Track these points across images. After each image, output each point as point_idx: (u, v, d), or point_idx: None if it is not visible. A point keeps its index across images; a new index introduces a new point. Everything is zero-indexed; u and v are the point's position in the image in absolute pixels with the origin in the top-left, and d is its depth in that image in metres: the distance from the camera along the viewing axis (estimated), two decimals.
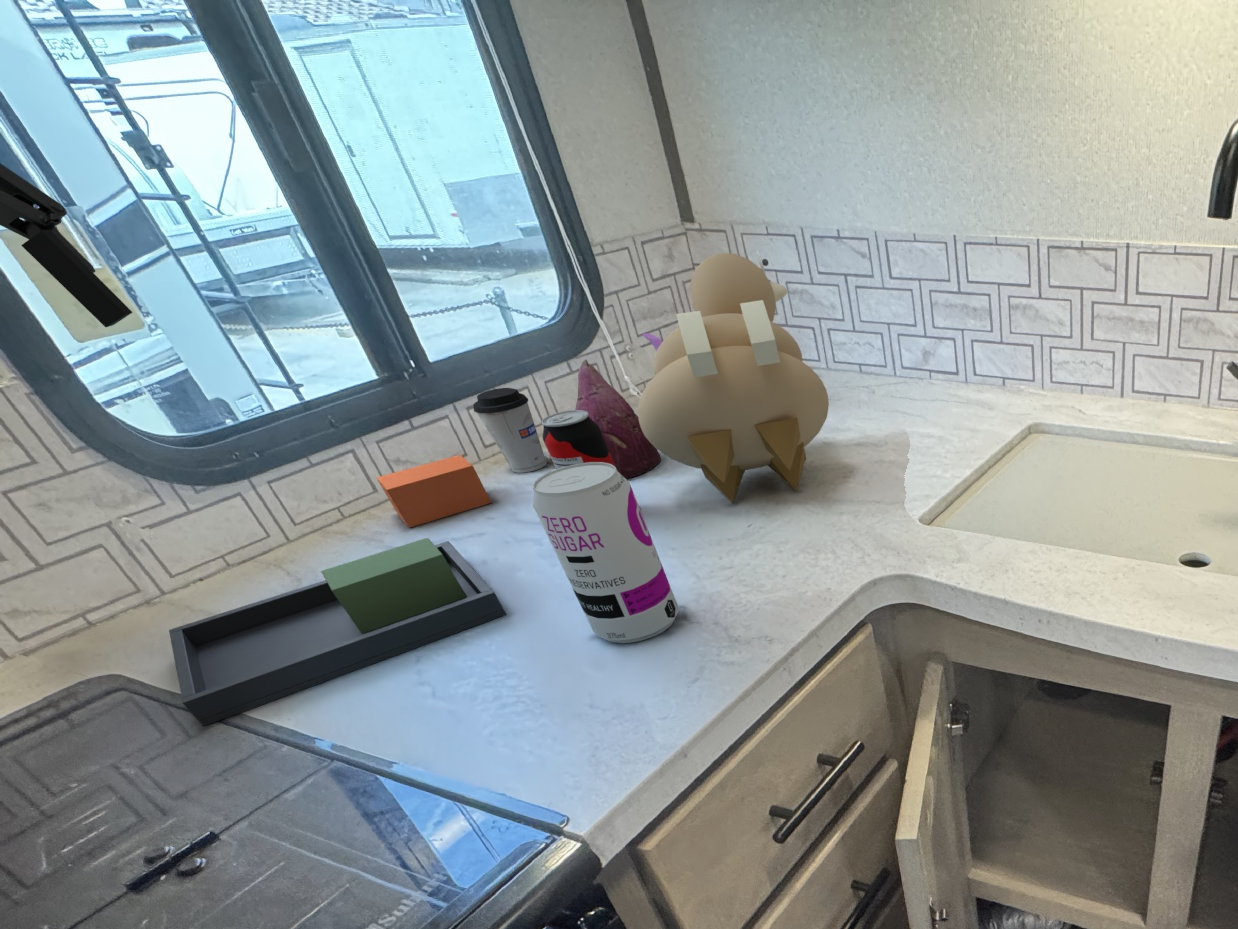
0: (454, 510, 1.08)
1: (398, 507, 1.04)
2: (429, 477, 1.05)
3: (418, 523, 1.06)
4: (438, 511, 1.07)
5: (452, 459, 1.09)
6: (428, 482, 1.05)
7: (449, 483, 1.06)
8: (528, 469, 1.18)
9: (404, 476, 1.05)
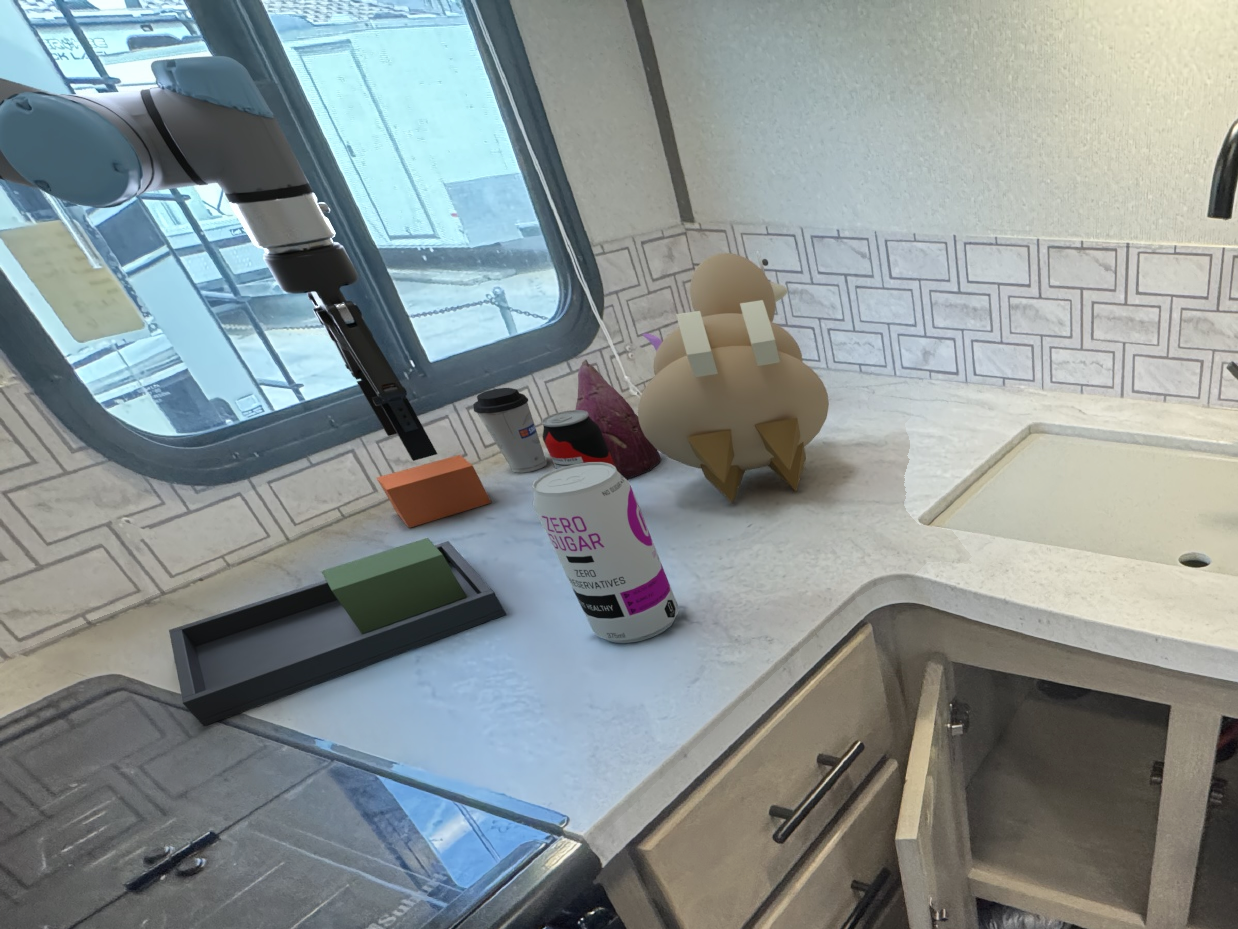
0: (454, 510, 1.08)
1: (398, 507, 1.04)
2: (429, 477, 1.05)
3: (418, 523, 1.06)
4: (438, 511, 1.07)
5: (452, 459, 1.09)
6: (428, 482, 1.05)
7: (449, 483, 1.06)
8: (528, 469, 1.18)
9: (404, 476, 1.05)
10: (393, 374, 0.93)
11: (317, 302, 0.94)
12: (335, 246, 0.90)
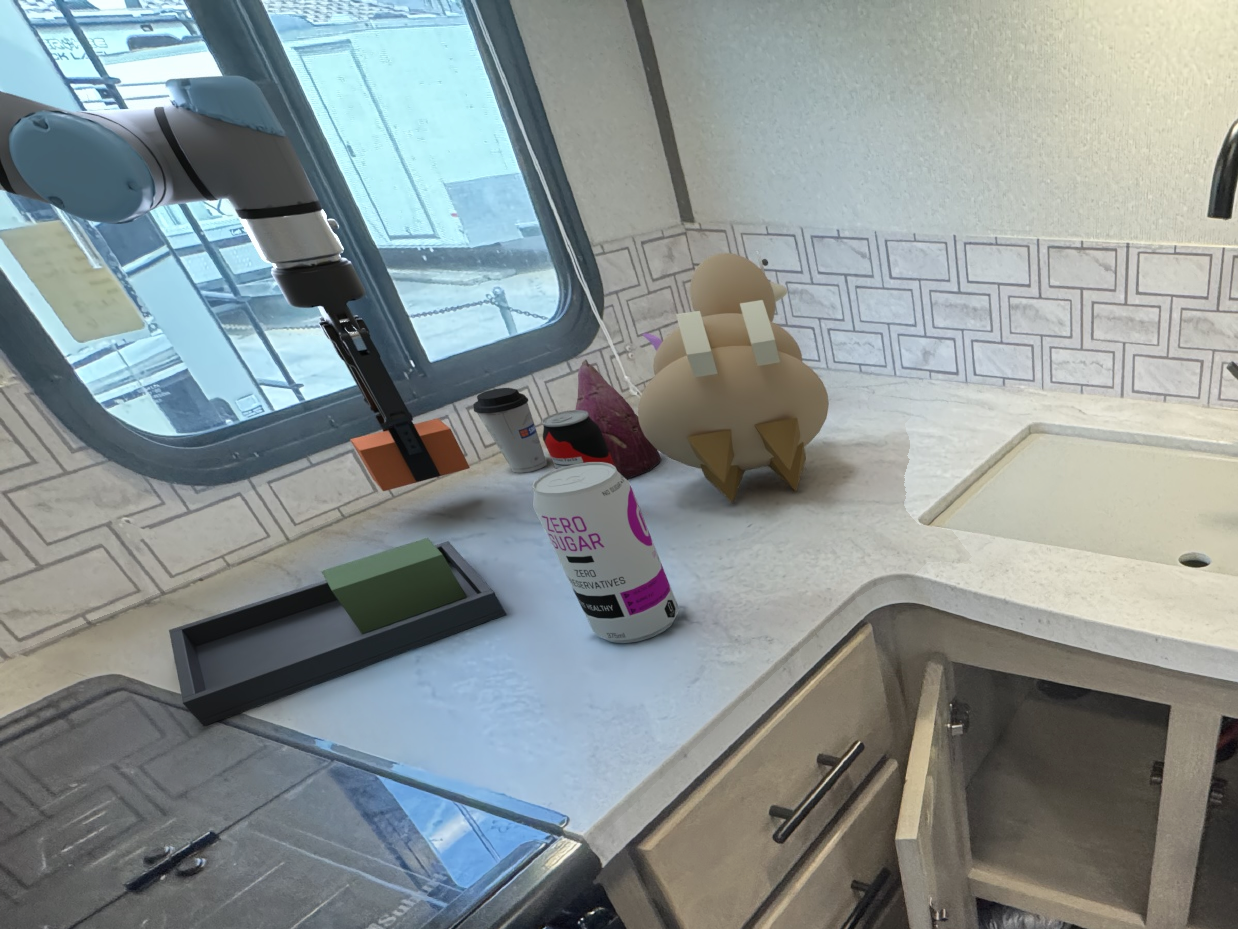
0: None
1: (372, 469, 1.00)
2: None
3: (393, 487, 1.02)
4: None
5: (430, 422, 1.06)
6: None
7: (426, 446, 1.03)
8: (528, 469, 1.18)
9: (379, 438, 1.02)
10: (402, 402, 0.97)
11: (323, 316, 0.95)
12: (343, 262, 0.91)
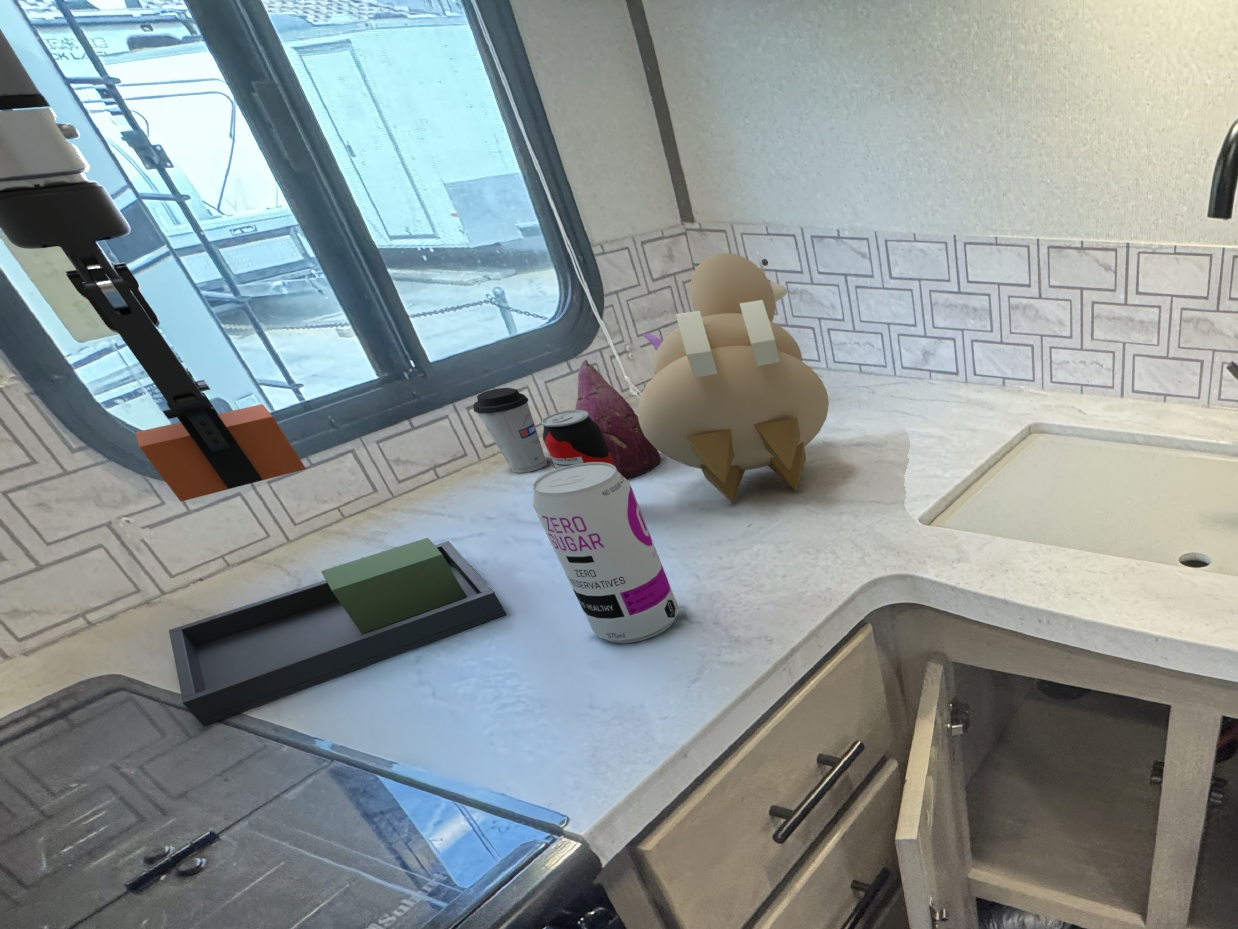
0: None
1: (161, 472, 0.75)
2: None
3: (194, 495, 0.77)
4: None
5: (250, 409, 0.80)
6: None
7: (238, 440, 0.77)
8: (528, 469, 1.18)
9: (174, 430, 0.76)
10: (189, 380, 0.71)
11: None
12: (87, 184, 0.66)
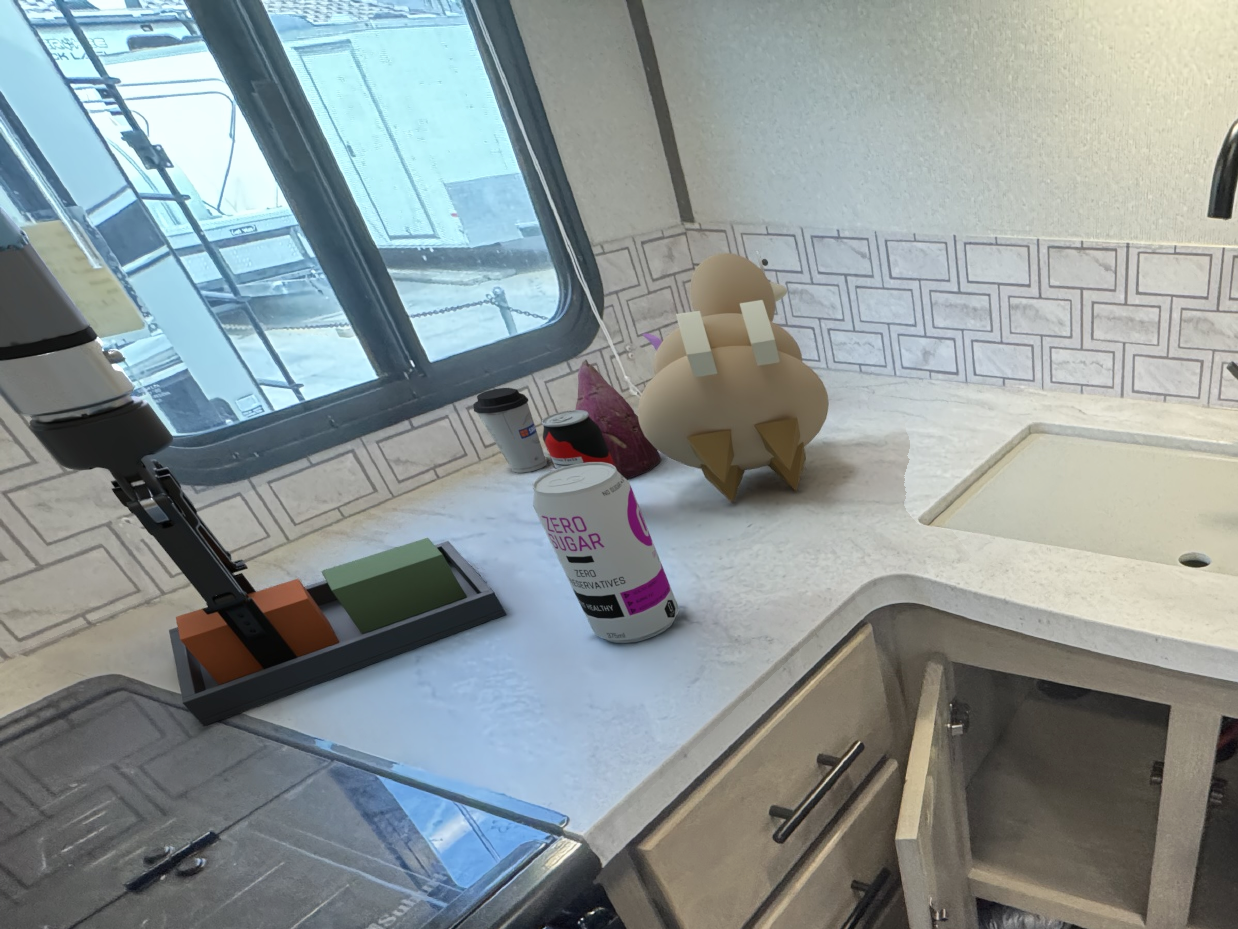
0: None
1: (200, 660, 0.77)
2: None
3: (232, 678, 0.79)
4: None
5: (286, 586, 0.82)
6: None
7: (275, 623, 0.79)
8: (528, 469, 1.18)
9: (213, 615, 0.78)
10: (228, 581, 0.73)
11: None
12: (132, 406, 0.67)
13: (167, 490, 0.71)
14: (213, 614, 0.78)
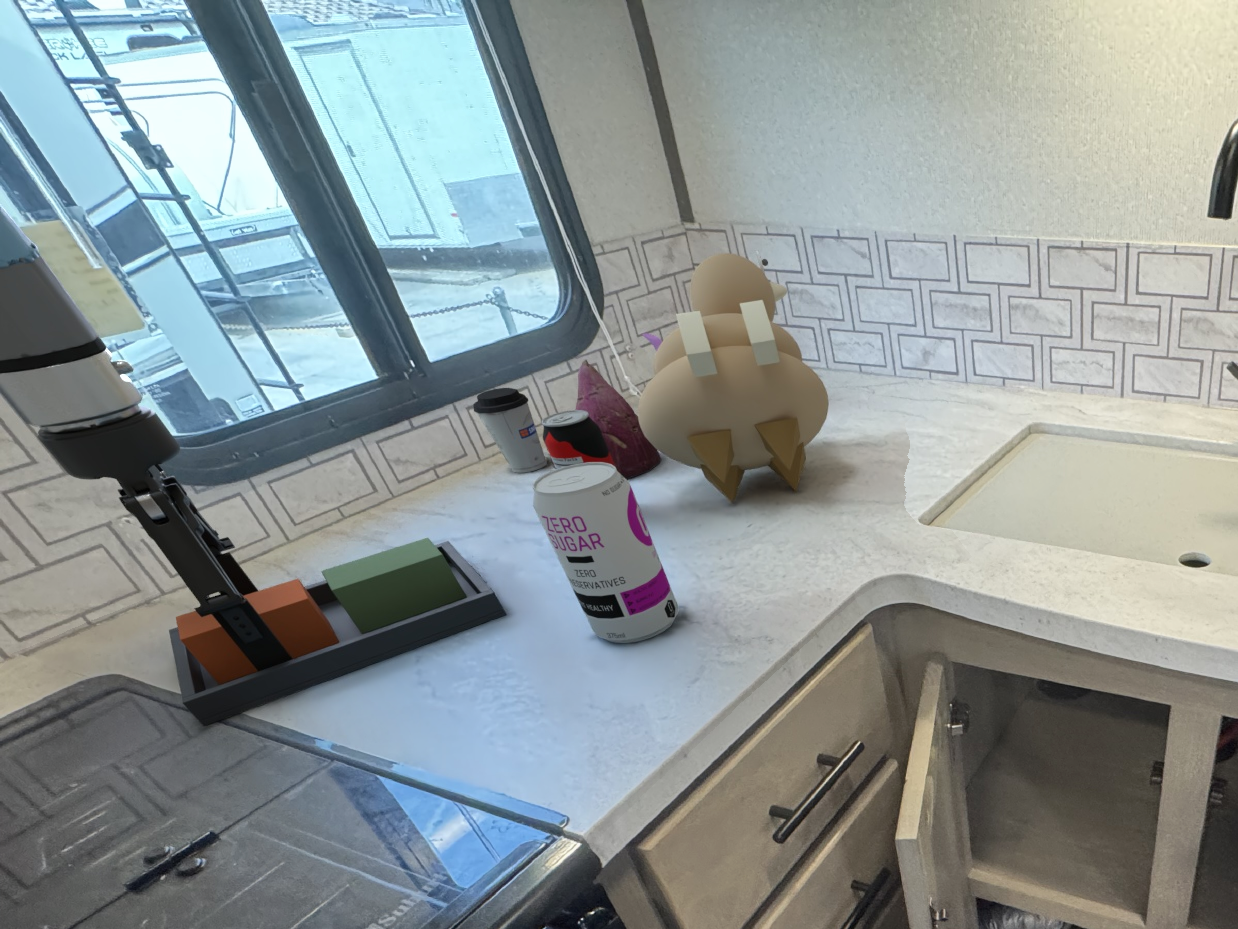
0: None
1: (200, 660, 0.77)
2: None
3: (232, 678, 0.79)
4: None
5: (286, 586, 0.82)
6: None
7: (275, 623, 0.79)
8: (528, 469, 1.18)
9: None
10: (222, 579, 0.70)
11: None
12: (140, 417, 0.68)
13: (174, 499, 0.71)
14: None
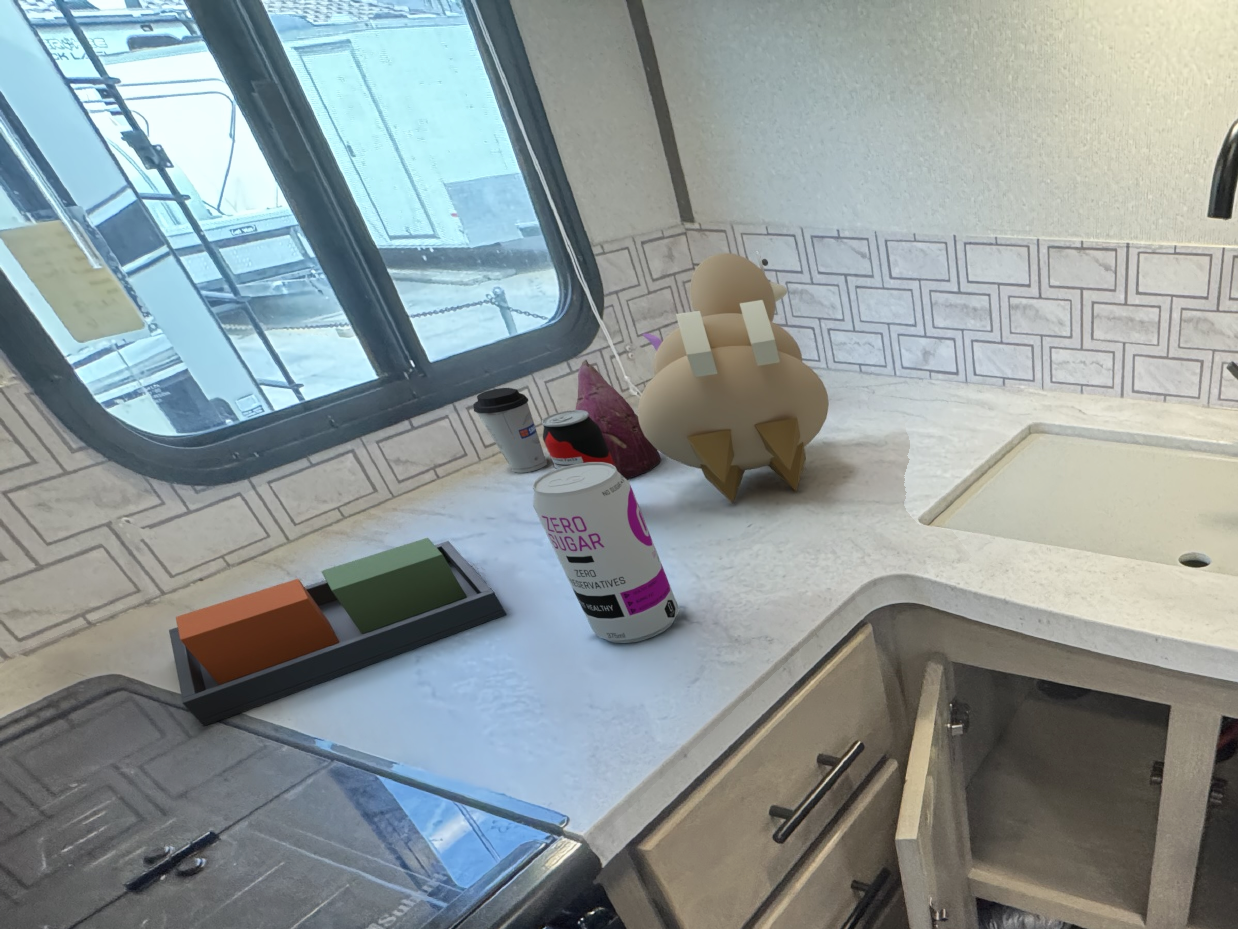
0: (284, 656, 0.81)
1: (200, 660, 0.77)
2: (244, 618, 0.77)
3: (232, 678, 0.79)
4: (262, 660, 0.80)
5: (286, 586, 0.82)
6: (242, 625, 0.77)
7: (275, 623, 0.79)
8: (528, 469, 1.18)
9: (213, 615, 0.78)
10: None
11: None
12: None
13: None
14: (213, 614, 0.78)
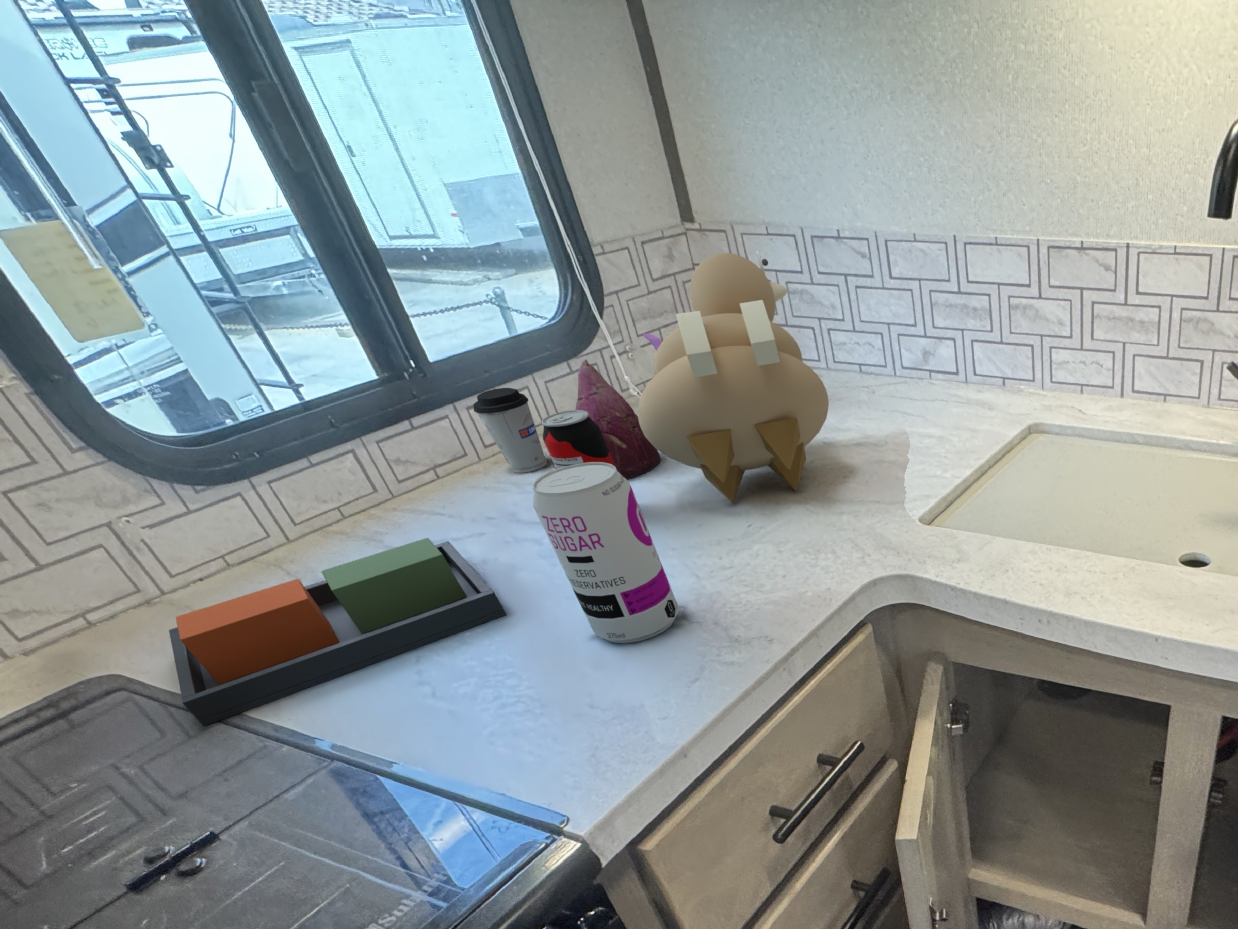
0: (284, 656, 0.81)
1: (200, 660, 0.77)
2: (244, 618, 0.77)
3: (232, 678, 0.79)
4: (262, 660, 0.80)
5: (286, 586, 0.82)
6: (242, 625, 0.77)
7: (275, 623, 0.79)
8: (528, 469, 1.18)
9: (213, 615, 0.78)
10: None
11: None
12: None
13: None
14: (213, 614, 0.78)
